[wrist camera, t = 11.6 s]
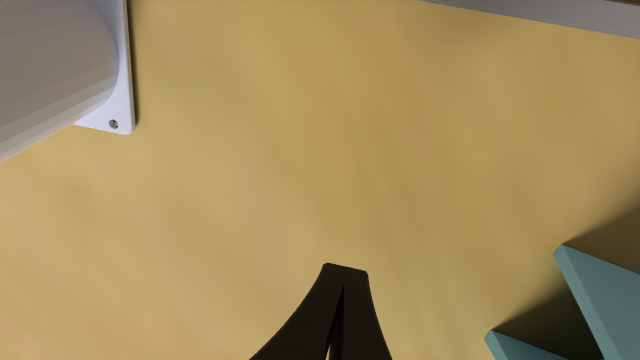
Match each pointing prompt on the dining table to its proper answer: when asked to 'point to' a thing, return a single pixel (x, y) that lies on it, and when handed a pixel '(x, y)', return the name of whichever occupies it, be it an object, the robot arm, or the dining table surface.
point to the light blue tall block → (590, 309)
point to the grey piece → (565, 13)
